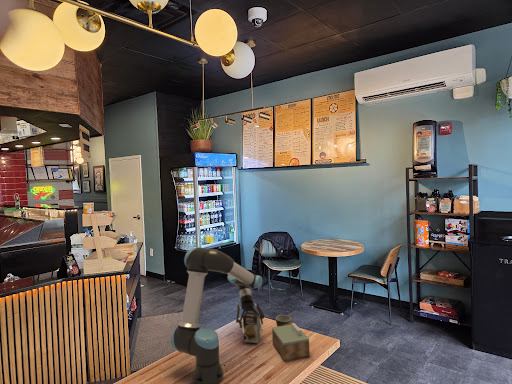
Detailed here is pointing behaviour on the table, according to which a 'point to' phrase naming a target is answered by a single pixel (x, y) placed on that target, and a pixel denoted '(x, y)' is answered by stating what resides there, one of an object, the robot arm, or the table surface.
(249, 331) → the coffee box
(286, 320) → the ceramic cup
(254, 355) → the table surface
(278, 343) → the toolbox
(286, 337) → the lid
